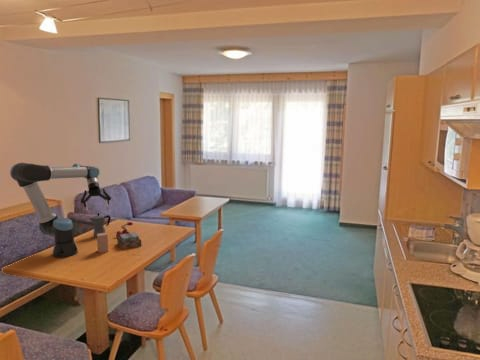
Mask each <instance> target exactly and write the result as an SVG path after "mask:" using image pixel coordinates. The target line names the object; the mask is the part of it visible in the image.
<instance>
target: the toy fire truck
mask: <svg viewBox="0 0 480 360" xmlns="http://www.w3.org/2000/svg"><path fill="white" fill-rule="evenodd" d="M133 225H134V224H133V222H131V221H127V222H126V223H125V224H122V225H121V227H120V228H121V229H122V231H120V230H118V231H116V235H115V237H116V238H118V237H119V238H120V234H127V233H130V231H128V229H127V228H126V227H127V226H133Z"/></svg>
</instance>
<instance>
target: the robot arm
mask: <svg viewBox="0 0 480 360" xmlns="http://www.w3.org/2000/svg"><path fill="white" fill-rule="evenodd" d="M9 173H10V177H11V179H13V180H14V181H16V182H17V184H18V186H19V188H23V190H24V192H25V193H26V196H27V197H28V199H29V201H30V203H31V205H32V207H33V209H34V211H35V212H36V214H37V216H38V218H39V219H38V220H37V221H38V229H39V231H40V232H41V233H42V234H43V235H45V236H49V237H53V239H54V244H53V249H52V257H54V258H67V257H71V256H74V255H76V254H77V253H78V251H79V250H78V247H77V245H76V242H75V239H74V238H75V235H74V224H73V220H72V219H71V218H68V217H65V218H64V217H60V218H59V217H58V215H57V214H56V213H55V212H53V211H52V208H51V207H50V205H49V203H48V201H47V198H46V197H45V195H44V193H43V191H42V189H41V187H40V185H39V183H38V182H46V181H50V180H52V179H55V180H56V179H74V178H75V179H77V178H78V179H79V178H83V179H84V178H85V179H86V182H87V187H88V190H84V193H83V195H82V197H81V200H80V204H83V207H84V208H86V212H89V208H88V201H89V200H90V199H91V198H92V197H99V198H102V199H103V200H104V201H105V204H106V210H109V205H110V201H111V199H112V197H111V196H110V194H108V192H106V189H105V188H102V189H100V183H99V179H98V177H99V175H100V169H99V168H98V167H96V166H89V165H82V164H78V163H75V164H73V165H71V166H50V165H42V164H41V165H40V164H34V163H28V162H27V163H26V162H18V163H15V164H13V166H11V168H10V171H9Z"/></svg>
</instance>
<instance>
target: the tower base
mask: <svg viewBox="0 0 480 360" xmlns="http://www.w3.org/2000/svg"><path fill="white" fill-rule="evenodd" d="M116 238H117V239H116V240H117V242H116V243H117V245H118V246H119V248H120V250H126V249H132V248H136V247H142V239H141V238H140V237H139V235H138V234H137V233H136V231H135V232H129V233H127V234H120V237H116Z"/></svg>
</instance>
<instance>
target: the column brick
mask: <svg viewBox="0 0 480 360" xmlns="http://www.w3.org/2000/svg"><path fill="white" fill-rule="evenodd" d="M96 241H97V243H96V244H97V251H98V253H99V254H103V253H109V239H108V234H107V232H106V233H99V234H97V237H96Z"/></svg>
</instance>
